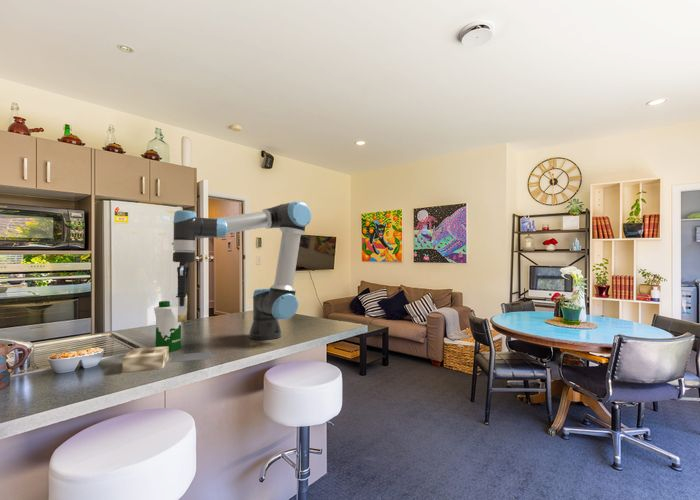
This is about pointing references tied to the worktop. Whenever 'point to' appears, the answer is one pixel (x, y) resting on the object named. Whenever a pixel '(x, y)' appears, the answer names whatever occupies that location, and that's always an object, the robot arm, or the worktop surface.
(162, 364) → the hole block
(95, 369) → the worktop surface
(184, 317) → the brass pin
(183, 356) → the mat
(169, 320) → the milk carton
